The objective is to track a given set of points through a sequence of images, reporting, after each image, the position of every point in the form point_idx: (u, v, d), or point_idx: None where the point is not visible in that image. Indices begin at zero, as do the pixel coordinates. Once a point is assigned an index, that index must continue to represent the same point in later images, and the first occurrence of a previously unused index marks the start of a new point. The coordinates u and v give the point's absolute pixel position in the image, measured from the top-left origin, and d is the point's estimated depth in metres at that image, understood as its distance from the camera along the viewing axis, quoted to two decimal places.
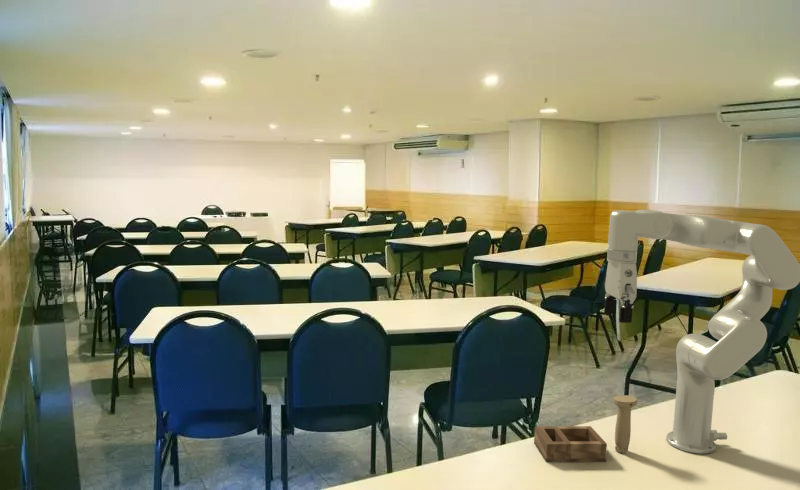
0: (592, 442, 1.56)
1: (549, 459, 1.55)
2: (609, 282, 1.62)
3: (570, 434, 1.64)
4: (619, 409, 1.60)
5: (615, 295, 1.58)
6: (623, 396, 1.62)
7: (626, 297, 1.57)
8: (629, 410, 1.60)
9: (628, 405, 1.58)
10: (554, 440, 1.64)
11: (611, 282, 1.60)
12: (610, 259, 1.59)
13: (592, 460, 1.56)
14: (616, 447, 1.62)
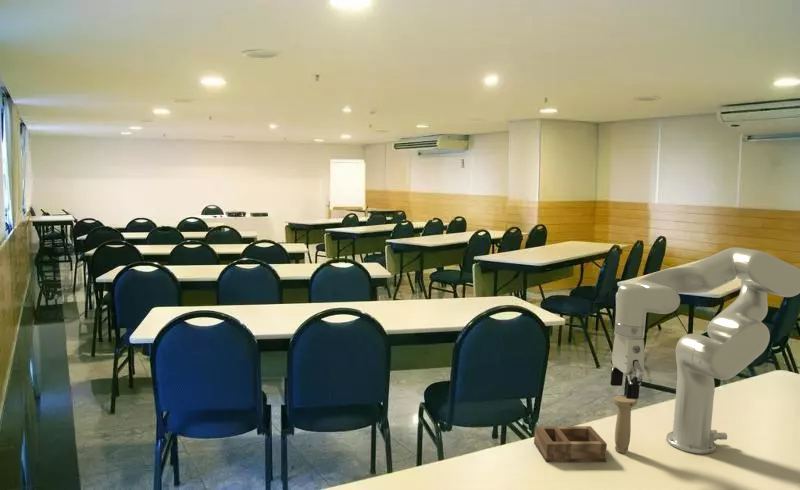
0: (592, 442, 1.56)
1: (549, 459, 1.55)
2: (615, 355, 1.60)
3: (570, 434, 1.64)
4: (619, 409, 1.60)
5: (622, 370, 1.57)
6: (623, 396, 1.62)
7: (633, 373, 1.55)
8: (629, 410, 1.60)
9: (628, 405, 1.58)
10: (554, 440, 1.64)
11: (618, 356, 1.59)
12: (618, 333, 1.57)
13: (592, 460, 1.56)
14: (616, 447, 1.62)
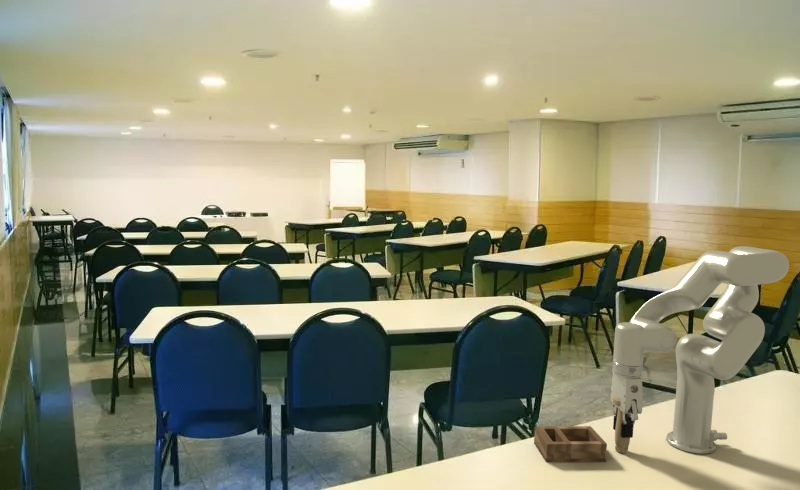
0: (592, 442, 1.56)
1: (549, 459, 1.55)
2: (614, 393, 1.62)
3: (570, 434, 1.64)
4: (619, 409, 1.60)
5: (621, 409, 1.58)
6: None
7: (629, 413, 1.58)
8: (629, 410, 1.60)
9: None
10: (554, 440, 1.64)
11: (617, 394, 1.60)
12: (615, 372, 1.58)
13: (592, 460, 1.56)
14: (616, 447, 1.62)
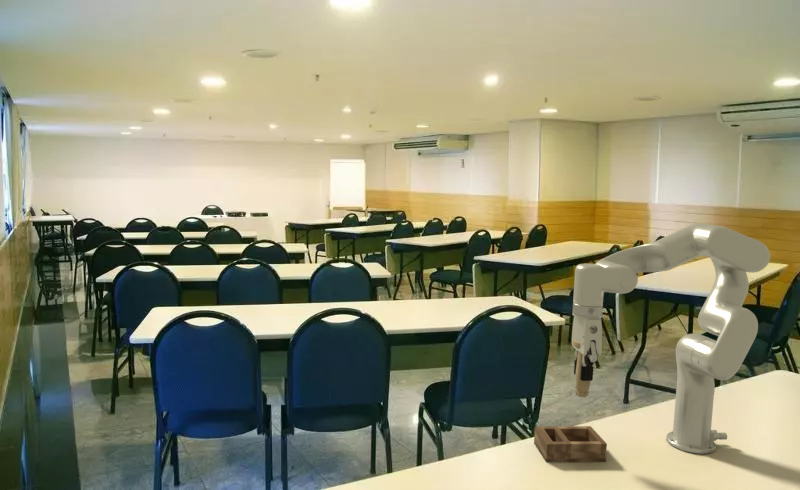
0: (592, 442, 1.56)
1: (549, 459, 1.55)
2: (574, 337, 1.59)
3: (570, 434, 1.64)
4: (579, 352, 1.57)
5: (580, 351, 1.55)
6: None
7: (589, 355, 1.55)
8: (589, 353, 1.56)
9: None
10: (554, 440, 1.64)
11: (576, 337, 1.57)
12: (575, 314, 1.55)
13: (592, 460, 1.56)
14: (576, 391, 1.59)
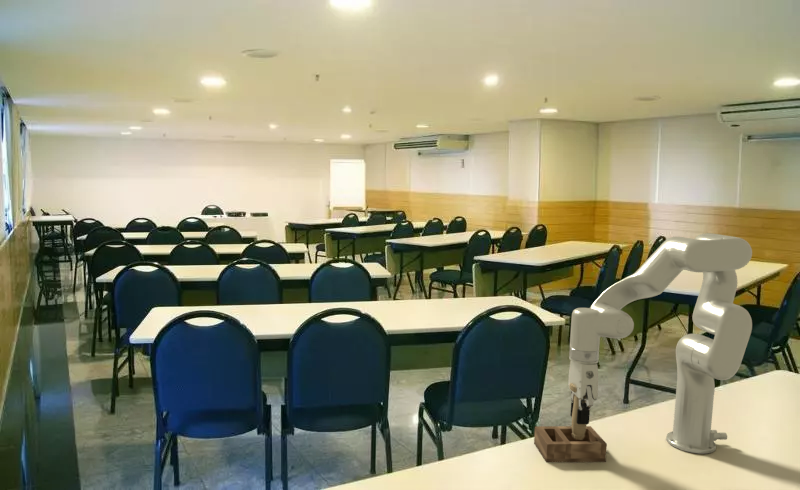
0: (592, 442, 1.56)
1: (549, 459, 1.55)
2: (571, 380, 1.60)
3: (570, 434, 1.64)
4: (576, 396, 1.58)
5: (577, 395, 1.56)
6: None
7: (585, 399, 1.56)
8: (585, 396, 1.58)
9: None
10: (554, 440, 1.64)
11: (573, 380, 1.58)
12: (572, 358, 1.57)
13: (592, 460, 1.56)
14: (573, 434, 1.60)
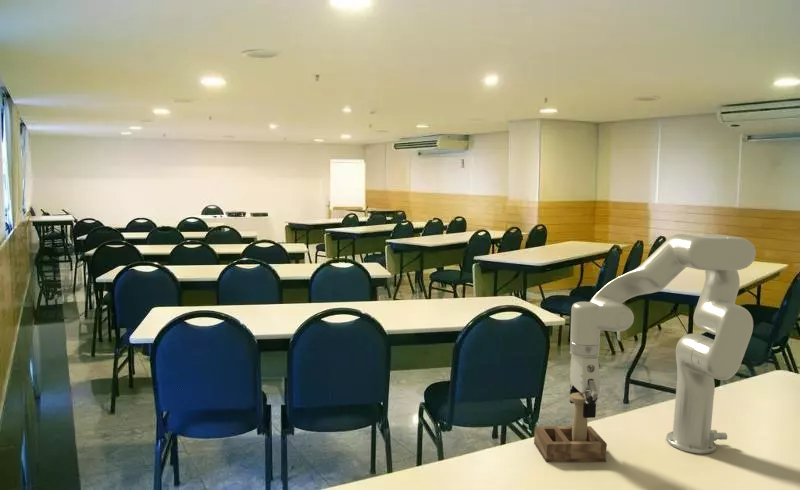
0: (592, 442, 1.56)
1: (549, 459, 1.55)
2: (572, 374, 1.60)
3: (570, 434, 1.64)
4: (576, 407, 1.59)
5: (578, 389, 1.56)
6: (580, 393, 1.61)
7: (589, 392, 1.54)
8: None
9: None
10: (554, 440, 1.64)
11: (574, 375, 1.58)
12: (572, 352, 1.56)
13: (592, 460, 1.56)
14: None
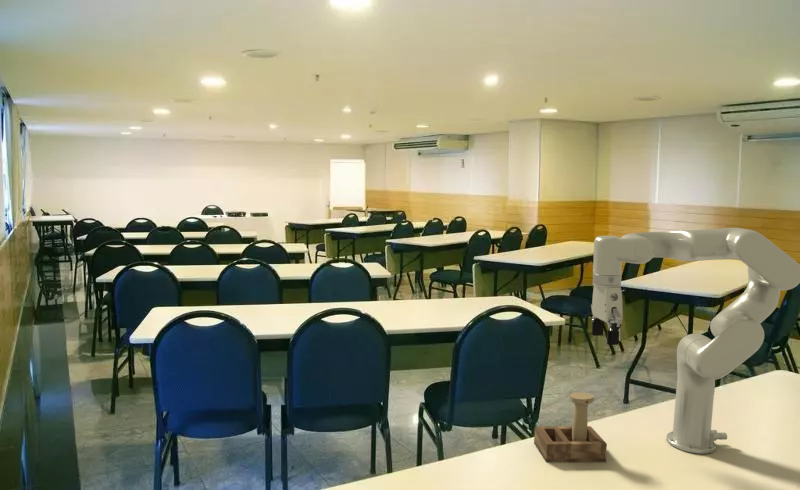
0: (592, 442, 1.56)
1: (549, 459, 1.55)
2: (595, 305, 1.67)
3: (570, 434, 1.64)
4: (576, 407, 1.59)
5: (602, 318, 1.64)
6: (580, 393, 1.61)
7: (613, 320, 1.62)
8: (585, 407, 1.58)
9: (584, 402, 1.57)
10: (554, 440, 1.64)
11: (598, 305, 1.66)
12: (596, 283, 1.64)
13: (592, 460, 1.56)
14: None
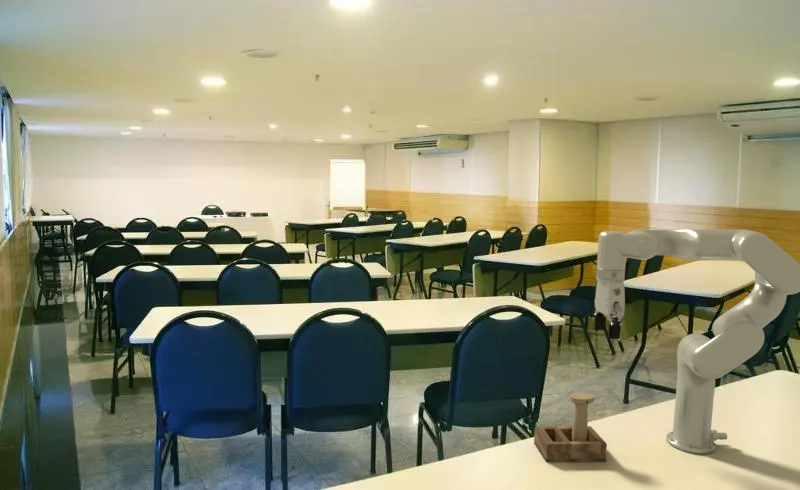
0: (592, 442, 1.56)
1: (549, 459, 1.55)
2: (598, 300, 1.69)
3: (570, 434, 1.64)
4: (576, 407, 1.59)
5: (604, 312, 1.65)
6: (580, 393, 1.61)
7: (614, 314, 1.63)
8: (585, 407, 1.58)
9: (584, 402, 1.57)
10: (554, 440, 1.64)
11: (600, 300, 1.67)
12: (599, 278, 1.65)
13: (592, 460, 1.56)
14: None
